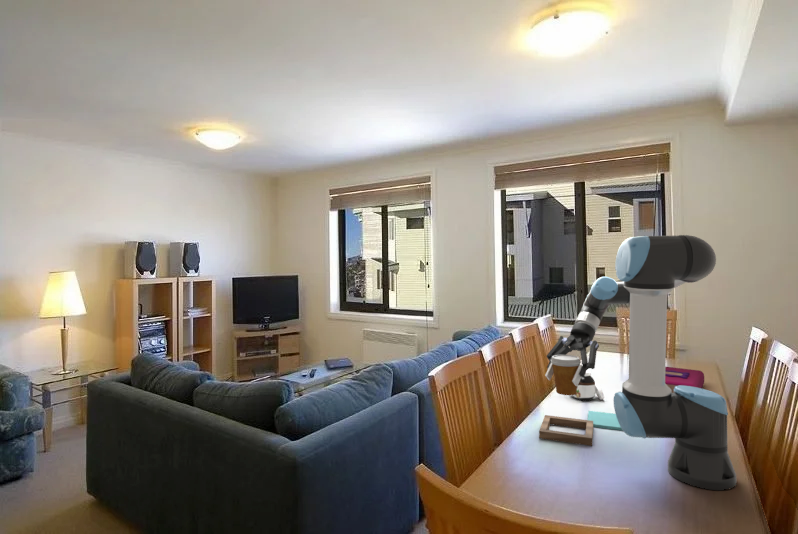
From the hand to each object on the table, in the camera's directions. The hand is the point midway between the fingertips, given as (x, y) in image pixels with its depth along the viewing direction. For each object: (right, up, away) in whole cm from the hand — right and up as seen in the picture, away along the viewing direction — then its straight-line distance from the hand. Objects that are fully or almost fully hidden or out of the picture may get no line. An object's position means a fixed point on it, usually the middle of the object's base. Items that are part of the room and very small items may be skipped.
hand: (560, 380), depth 147 cm
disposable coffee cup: (+3, -5, +2) cm, 6 cm away
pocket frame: (+3, -18, +2) cm, 19 cm away
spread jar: (+25, -18, +38) cm, 49 cm away
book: (+68, -17, +49) cm, 85 cm away
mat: (+21, -18, +11) cm, 30 cm away
